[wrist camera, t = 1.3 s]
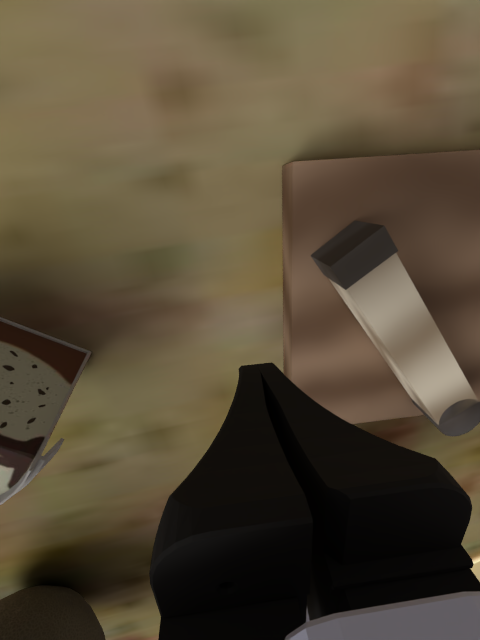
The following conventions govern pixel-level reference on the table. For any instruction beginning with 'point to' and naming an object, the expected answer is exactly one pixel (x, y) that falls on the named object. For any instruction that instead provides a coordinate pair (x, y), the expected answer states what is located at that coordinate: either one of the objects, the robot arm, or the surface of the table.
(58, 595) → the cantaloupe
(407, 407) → the stool seat
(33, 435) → the food container
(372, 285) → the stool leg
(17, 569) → the table surface
